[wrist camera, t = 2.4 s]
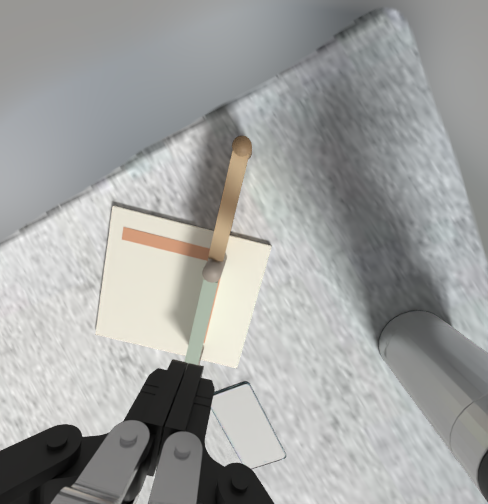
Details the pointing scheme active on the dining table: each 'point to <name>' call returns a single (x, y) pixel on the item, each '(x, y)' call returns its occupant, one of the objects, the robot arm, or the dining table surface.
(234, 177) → the fence gate
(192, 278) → the card
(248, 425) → the smartphone
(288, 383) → the dining table surface
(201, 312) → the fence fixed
